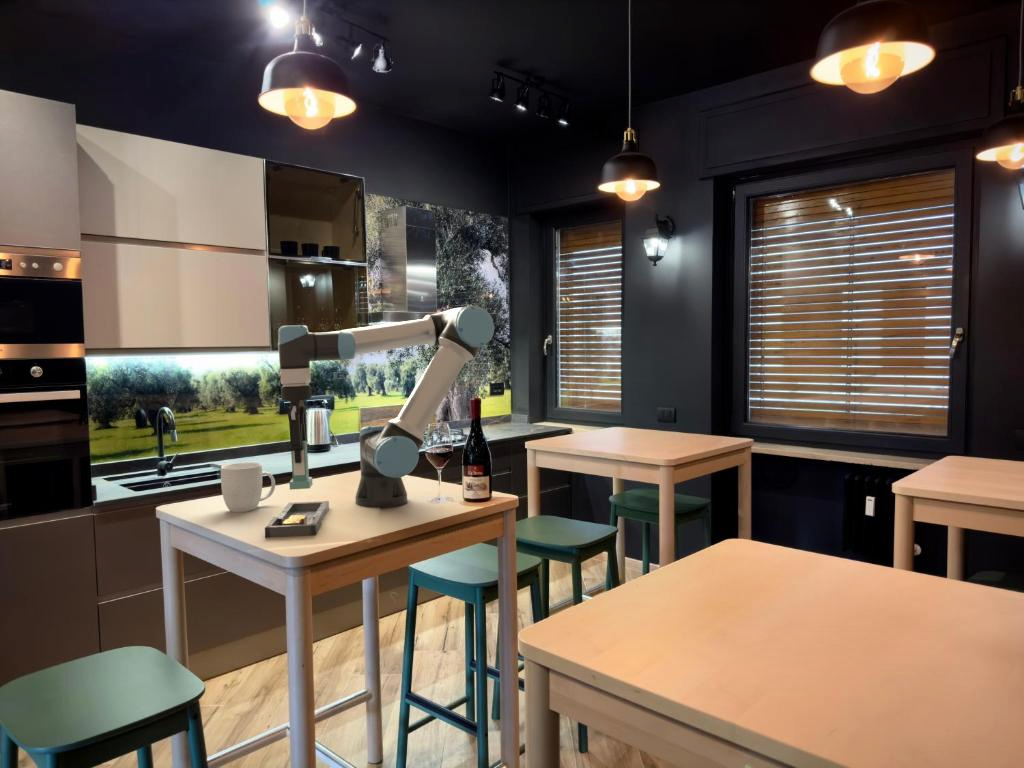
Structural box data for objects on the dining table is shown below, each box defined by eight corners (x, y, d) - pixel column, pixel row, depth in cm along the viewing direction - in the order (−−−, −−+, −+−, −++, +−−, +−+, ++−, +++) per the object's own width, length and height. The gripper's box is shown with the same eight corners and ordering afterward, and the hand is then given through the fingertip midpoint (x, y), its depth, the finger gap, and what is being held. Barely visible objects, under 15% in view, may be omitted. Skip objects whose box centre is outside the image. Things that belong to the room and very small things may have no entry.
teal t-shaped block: (312, 484, 185) (310, 440, 184) (309, 488, 180) (307, 442, 179) (293, 485, 184) (290, 441, 183) (289, 489, 179) (287, 443, 178)
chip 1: (302, 528, 176) (301, 518, 176) (299, 532, 172) (298, 522, 172) (285, 529, 175) (285, 519, 175) (282, 533, 171) (282, 523, 171)
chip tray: (321, 526, 179) (321, 514, 179) (315, 537, 169) (315, 525, 169) (273, 528, 178) (273, 517, 178) (265, 539, 168) (264, 527, 168)
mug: (268, 502, 207) (267, 459, 207) (282, 508, 199) (280, 463, 198) (217, 510, 198) (215, 465, 197) (229, 517, 190) (227, 470, 189)
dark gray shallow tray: (328, 509, 197) (328, 501, 197) (319, 526, 179) (319, 516, 179) (289, 511, 196) (288, 502, 195) (275, 528, 178) (275, 518, 178)
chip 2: (306, 524, 180) (306, 514, 180) (304, 528, 176) (304, 518, 176) (291, 524, 179) (290, 515, 179) (288, 528, 175) (287, 519, 175)
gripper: (287, 383, 188) (292, 468, 189) (274, 387, 171) (279, 480, 173) (315, 382, 189) (320, 466, 190) (305, 386, 172) (310, 478, 174)
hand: (300, 473), depth 182 cm, fingers closed on teal t-shaped block, 3 cm apart
